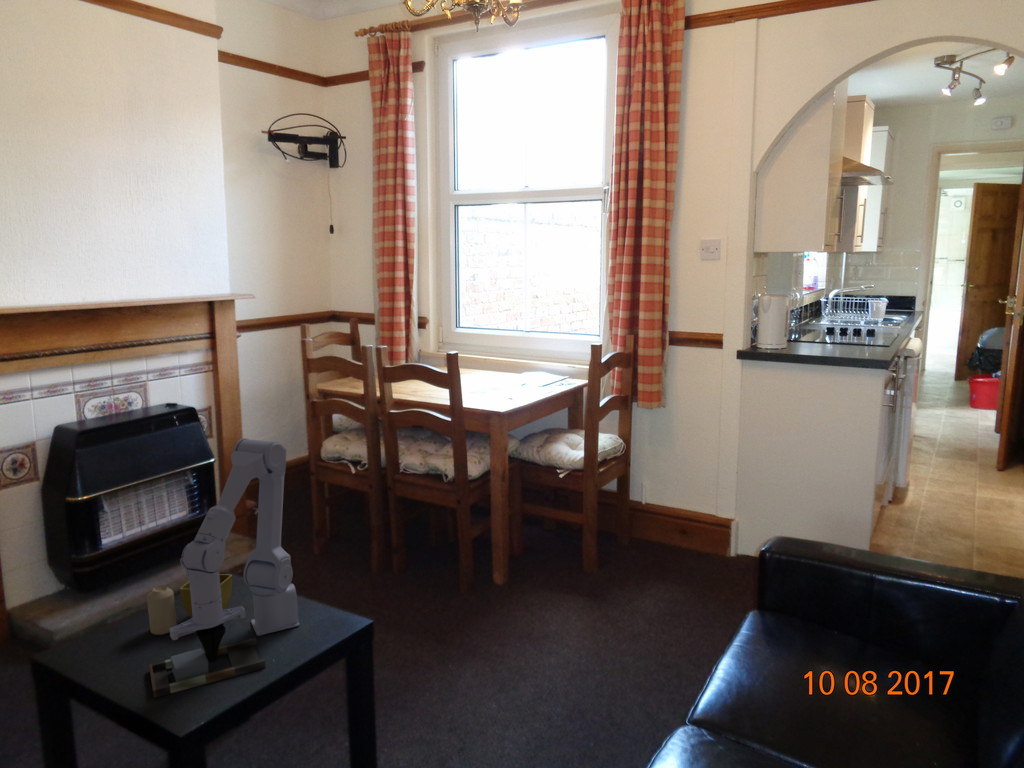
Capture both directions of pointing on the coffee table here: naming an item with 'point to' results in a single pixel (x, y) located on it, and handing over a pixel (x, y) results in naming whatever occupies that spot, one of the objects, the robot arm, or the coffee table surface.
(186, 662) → the block
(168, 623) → the candle
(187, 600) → the flower pot
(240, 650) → the trap lane
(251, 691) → the coffee table surface
